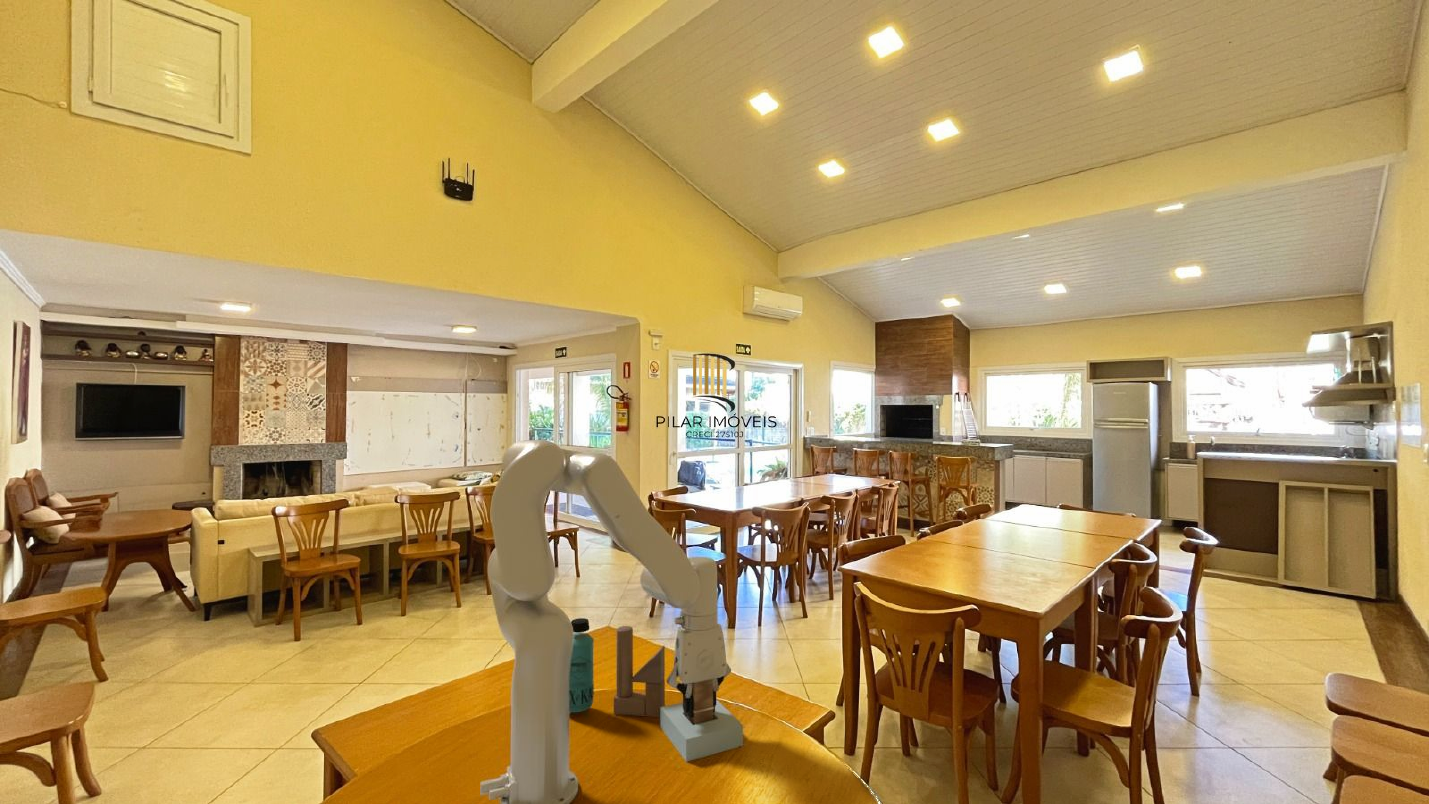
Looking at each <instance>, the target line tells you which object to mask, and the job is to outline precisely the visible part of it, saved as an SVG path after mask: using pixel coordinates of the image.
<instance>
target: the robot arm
mask: <svg viewBox="0 0 1429 804" xmlns="http://www.w3.org/2000/svg"><path fill="white" fill-rule="evenodd" d="M501 461H502V462H501V465H502V466H501V468H502V471H503V472H502V474H501V475H500V477H499V478H498V481H497V483H496V485H495V488H494V491H493V493H492V497H491V501H490V521H491V527H492V528H491V529H492V532H493V533H492V534H493V542H494V546H495V548H494V549H493V550H492V552H491V553H490V556H489V558H488V561H487V562H488V563H487V577H488V578H487V579H488V582H489V587H490V592H491V598H492V602H493V607H494V611H495V615H496V620H497V624H498V627H499V630H500V632H501V634H502V637H503V638H504V639H505V641H506V642H507V643H508V645H510V647H511V648H512V649H513V651H514V652H513V653H514V664H513V672H512V677H511V689H510V690H511V691H510V692H511V693H510V707H511V708H510V710H511V711H510V716H511V717H510V765H508V766H506V773H503V774H500V777H497V778H491V779H490V778H489V779H488V780H487V779H486V780H482V781H480V791H479V792H480V796H484V795H488V799H489V801H493V800H496V799H498V798H499V804H500V803H501V804H570V803H572V801H574V799H575V798H576V796H577V794H578V792H579V791H578V790H579V781H578V777H577V776H576V775H575V773H574V772H573V771H571V770H570V712H569V676H570V663H571V656H572V650H573V642H574V634H575V633H574V632H573V627H572V624H571V620H570V618H569V616H568V615H567V614H566V612H565V611H564V610H562V608H560V607H559V606H557V605H556V604H555V603H553V602H551V601H550V599H549V597H548V593H549V592H550V590H551V589H552V587H553V585H554V582H555V579H556V567H555V562H554V559H553V554H552V550H551V545H550V542H549V541H550V540H549V537H548V536H549V535H548V531H547V527H546V526H547V525H546V518H545V512H544V511H545V509H544V508H545V502H546V498H547V497H548V495H549V492H554V493H555V492H557V493H563V494H569V495H576V496H582V497H583V498H584V500H585V502H586V503H587V504H588V506H589V507H590V509H591V510H592V511H593V513H594V515H595V516H596V518H597V520H599V522H600V523H601V525H602V527H603V529H604V530H605V532H606V533H607V535H608V536H609V537H610V539H611V540H612V541H613V542H614V543H615V544H616V545H617V546H618V547H619V548H620V549H622V550H623V551H625V552H626V553H628V554H630V555H631V556H632V557H633V558H634V559H636V560H637V561H638V562H639V563H640V564H641V565H642V566H643V567H644V568H643V569H642V571H641V574H640V579H639V580H640V581H639V582H640V586H641V588H642V590H643V591H644V593H646V594H647V595H648V596H649V597H652V598H653V599H655V600H657V601H659V602H662V603H664V604H666V605H668V606H670V607H672V608H674V609H679V610H680V612H679V616H678V617H674V625H676V626H677V625H679V626H678V628H677V632H676V637H675V643H674V654H673V666H672V667H673V668H672V669H671V671H670V673H669V675H668V677H667V678H666V683H667V684H668V685H669V686H670V687H672V688H673V689H676V690H677V691H679V692H680V693H681V694H682V702H683V710H684V712H685V713H686V714H687V715H688V716H689V717H690V718H693V717H694V712H693V710H694V699H693V697H692V696H691V693H692V687H693V683H698V682H702V681H707V680H712V679H713V707H714V709H713V713H714V712H715V706H716V699H717V692H718V691H719V689H720V685H721V684H722V683H723V682H724V680H725V678H726V677H727V676H729V675H730V674H731V672H732V669H731V667H730V666H729V664H728V662H727V652H726V651H727V650H726V644H725V637H724V632H723V627H722V624H720V623H719V622H718V619H719V618H718V566H717V562H716V561H715V560H714V559H713V558H711V557H706V556H693V557H692V556H691V557H688V556H687V554H686V553H685V552H684V550H683V548H682V547H681V546H680V545H679V543H678V542H677V541H676V540H675V539H674V538H673V536H672V535H670V533H668V531H667V530H666V529H665V528H664V527H663V526H662V525H661V524H660V522H658V521H657V520H656V519H655V517H654V516H652V515H651V514H650V512H649V511H648V510H647V508H646V506H645V504H644V503H643V502H642V500H641V498H640V496H639V495H638V493H637V492H636V490H635V489H634V487H633V485H632V484H631V482H630V481H629V479H628V478H627V476H626V475H625V473H624V472H623V470H622V469H621V467H620V466H619V464H618V462H617V461H616V460H615V459H614V458H613V457H612V456H610V455H608V454H607V453H606V454H605V453H602V452H601V453H600V452H582V451H577V450H571V449H566V448H562V447H560V446H559V445H558V444H556V443H554V442H552V441H550V440H545V439H530V440H529V439H528V440H527V439H526V440H519V441H517V442H514V443H513V444H512V445H510V446H509V447H508V448H507V449H506V450H505V453H504V454H503V457H502V459H501ZM677 679H679V680H677ZM680 681H681V682H680Z"/></svg>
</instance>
